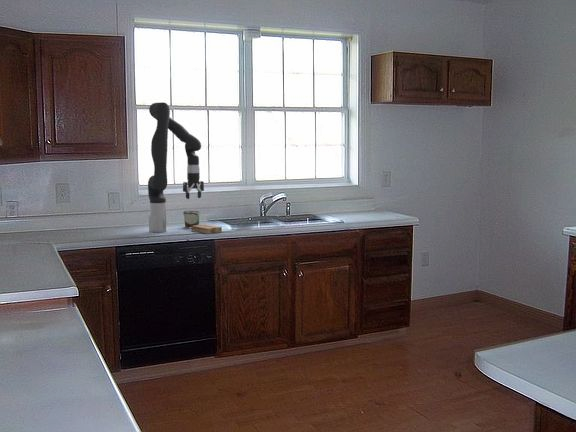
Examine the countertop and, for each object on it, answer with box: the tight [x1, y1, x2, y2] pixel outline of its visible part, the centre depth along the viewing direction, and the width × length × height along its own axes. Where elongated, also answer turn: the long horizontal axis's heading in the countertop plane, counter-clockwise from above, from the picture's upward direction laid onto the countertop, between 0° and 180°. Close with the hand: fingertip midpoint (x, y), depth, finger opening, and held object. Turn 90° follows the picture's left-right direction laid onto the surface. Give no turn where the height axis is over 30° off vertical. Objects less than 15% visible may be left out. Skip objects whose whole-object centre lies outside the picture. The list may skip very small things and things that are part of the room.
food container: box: [183, 210, 202, 228], centre depth 390 cm, size 12×6×10 cm, turn 58°
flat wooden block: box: [191, 223, 223, 235], centre depth 374 cm, size 10×16×3 cm, turn 45°
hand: (193, 198), depth 389 cm, fingers open, 8 cm apart
